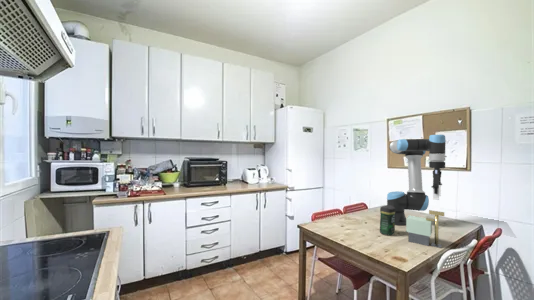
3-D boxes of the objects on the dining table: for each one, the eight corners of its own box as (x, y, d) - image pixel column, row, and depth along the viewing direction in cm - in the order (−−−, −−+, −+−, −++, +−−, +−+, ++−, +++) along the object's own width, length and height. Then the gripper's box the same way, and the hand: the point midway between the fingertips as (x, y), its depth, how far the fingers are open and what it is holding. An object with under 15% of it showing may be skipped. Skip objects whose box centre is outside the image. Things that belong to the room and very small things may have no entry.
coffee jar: (390, 236, 146) (390, 207, 146) (377, 233, 153) (378, 205, 152) (397, 233, 152) (397, 205, 152) (384, 230, 158) (385, 203, 158)
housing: (408, 241, 139) (408, 231, 139) (410, 238, 144) (410, 228, 144) (440, 248, 129) (441, 238, 129) (441, 245, 134) (441, 234, 134)
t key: (425, 242, 135) (426, 210, 135) (426, 241, 137) (426, 209, 137) (443, 246, 130) (444, 213, 130) (444, 245, 132) (444, 212, 131)
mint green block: (406, 231, 139) (406, 218, 139) (408, 227, 146) (408, 215, 146) (430, 236, 131) (430, 222, 131) (431, 232, 138) (432, 219, 138)
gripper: (444, 162, 121) (443, 202, 121) (446, 160, 140) (446, 195, 140) (426, 161, 126) (426, 200, 126) (431, 160, 145) (431, 193, 145)
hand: (436, 197), depth 133 cm, fingers open, 13 cm apart
